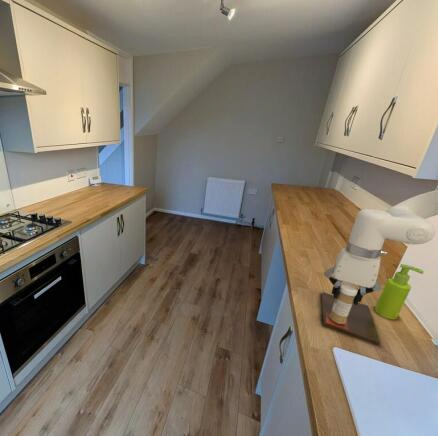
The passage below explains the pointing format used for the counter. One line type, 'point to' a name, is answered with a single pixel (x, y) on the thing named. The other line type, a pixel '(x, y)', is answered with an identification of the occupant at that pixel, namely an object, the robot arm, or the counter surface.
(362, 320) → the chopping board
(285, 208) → the counter surface
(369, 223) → the robot arm
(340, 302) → the sprinkles bottle
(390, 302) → the soap dispenser
